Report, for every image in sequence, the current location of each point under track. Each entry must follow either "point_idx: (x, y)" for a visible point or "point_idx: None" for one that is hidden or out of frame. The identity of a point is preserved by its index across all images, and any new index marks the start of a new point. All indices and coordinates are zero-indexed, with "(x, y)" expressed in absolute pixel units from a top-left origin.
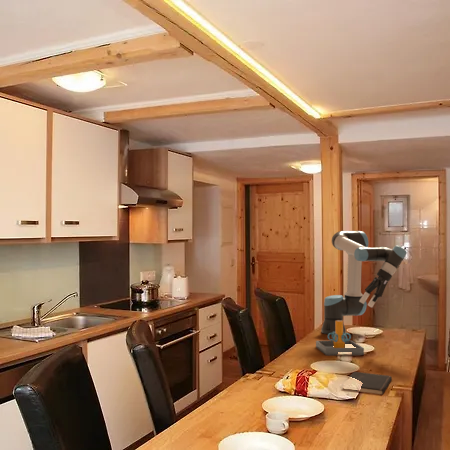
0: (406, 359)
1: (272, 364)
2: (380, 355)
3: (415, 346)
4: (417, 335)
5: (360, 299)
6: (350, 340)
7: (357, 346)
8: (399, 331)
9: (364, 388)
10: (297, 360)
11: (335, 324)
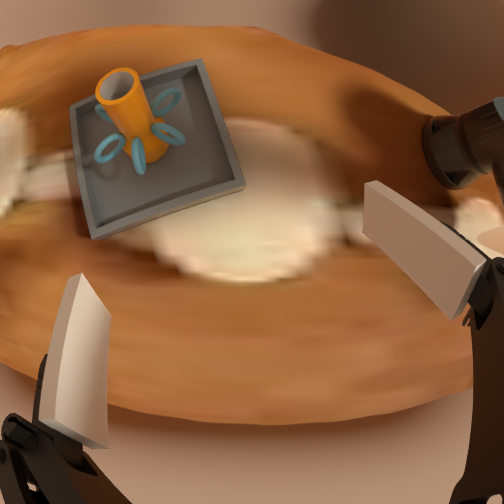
0: None
1: (12, 49)
2: (112, 301)
3: (310, 415)
4: (446, 390)
5: (389, 191)
6: (243, 180)
7: (140, 212)
8: None
9: None
10: (32, 72)
11: (121, 79)
